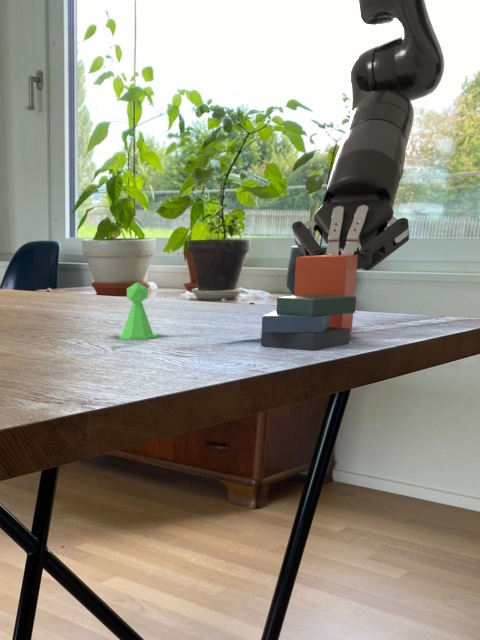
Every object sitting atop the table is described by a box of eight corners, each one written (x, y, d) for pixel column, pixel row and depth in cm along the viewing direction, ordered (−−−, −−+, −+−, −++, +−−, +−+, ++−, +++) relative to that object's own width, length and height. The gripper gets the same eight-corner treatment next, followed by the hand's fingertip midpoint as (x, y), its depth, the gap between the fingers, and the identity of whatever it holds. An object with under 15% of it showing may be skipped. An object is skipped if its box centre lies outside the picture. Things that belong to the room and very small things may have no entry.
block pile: (291, 338, 86) (293, 293, 84) (360, 343, 80) (364, 295, 79) (241, 346, 81) (243, 298, 79) (311, 353, 75) (314, 301, 74)
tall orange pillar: (304, 333, 90) (309, 255, 87) (351, 334, 88) (358, 254, 85) (291, 338, 86) (296, 257, 83) (340, 339, 84) (347, 256, 81)
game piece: (165, 342, 86) (165, 281, 84) (126, 345, 85) (126, 283, 82) (148, 338, 90) (148, 280, 88) (111, 341, 88) (110, 282, 86)
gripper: (302, 151, 94) (264, 270, 88) (427, 142, 87) (394, 269, 82) (311, 202, 100) (276, 317, 94) (429, 197, 94) (398, 319, 88)
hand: (331, 294), depth 88 cm, fingers closed
